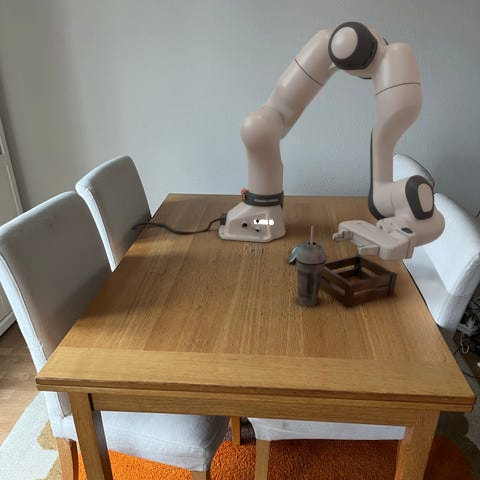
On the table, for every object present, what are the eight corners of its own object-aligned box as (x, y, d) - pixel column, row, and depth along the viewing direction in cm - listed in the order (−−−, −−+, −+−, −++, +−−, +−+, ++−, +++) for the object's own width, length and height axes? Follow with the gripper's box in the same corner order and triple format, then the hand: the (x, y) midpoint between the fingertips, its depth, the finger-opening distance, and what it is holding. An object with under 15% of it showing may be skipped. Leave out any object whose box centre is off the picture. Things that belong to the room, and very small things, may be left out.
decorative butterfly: (280, 251, 136) (292, 232, 142) (281, 269, 140) (292, 250, 147) (314, 257, 132) (325, 237, 139) (314, 275, 137) (324, 255, 143)
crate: (347, 308, 116) (350, 286, 113) (313, 284, 127) (315, 263, 124) (393, 295, 121) (397, 274, 118) (357, 273, 133) (359, 253, 130)
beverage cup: (324, 297, 121) (332, 221, 111) (319, 310, 115) (326, 231, 105) (296, 293, 123) (301, 217, 113) (289, 306, 117) (294, 228, 107)
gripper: (365, 211, 128) (322, 219, 123) (421, 236, 112) (375, 246, 107) (362, 234, 131) (320, 242, 126) (416, 260, 115) (371, 271, 110)
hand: (345, 244), depth 116 cm, fingers open, 8 cm apart
